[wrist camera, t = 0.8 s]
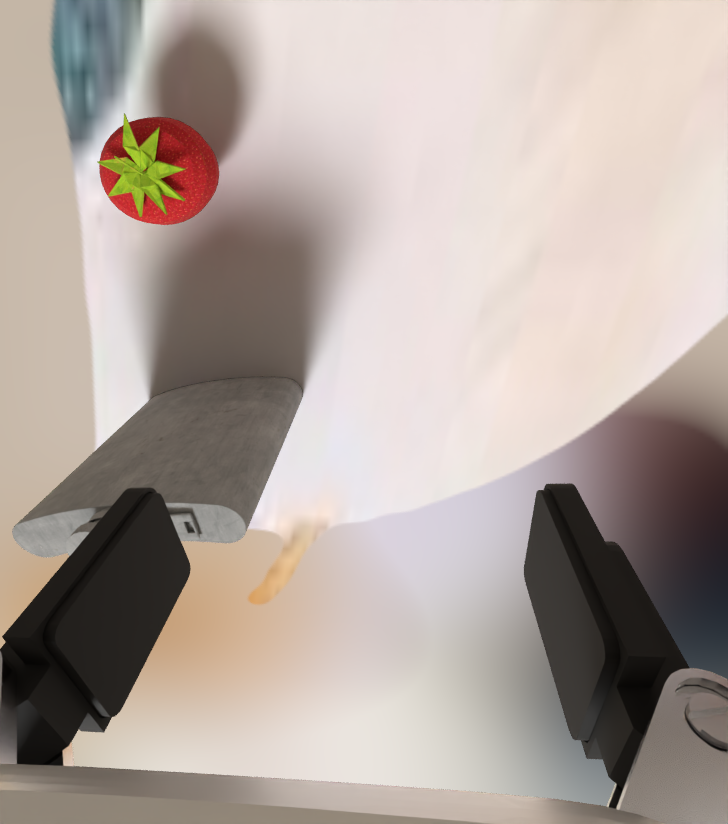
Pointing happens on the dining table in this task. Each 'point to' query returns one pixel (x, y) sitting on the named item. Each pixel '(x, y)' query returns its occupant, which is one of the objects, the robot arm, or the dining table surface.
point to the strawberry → (158, 170)
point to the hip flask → (176, 464)
